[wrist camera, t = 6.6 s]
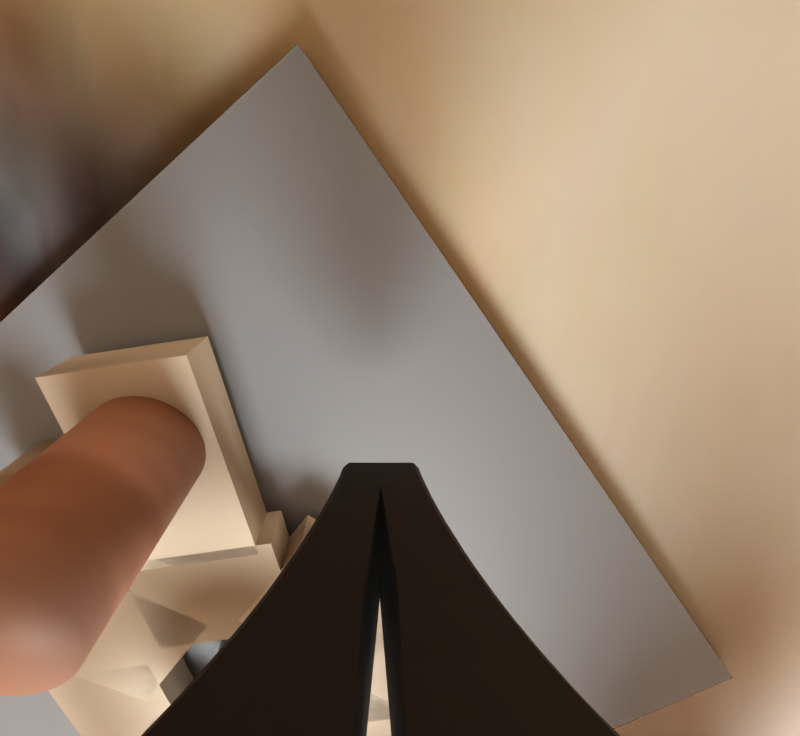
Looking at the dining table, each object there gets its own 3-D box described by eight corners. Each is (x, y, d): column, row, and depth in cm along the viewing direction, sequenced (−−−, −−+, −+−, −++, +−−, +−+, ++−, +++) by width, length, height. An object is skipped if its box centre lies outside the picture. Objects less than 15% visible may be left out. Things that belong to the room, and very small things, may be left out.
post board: (721, 661, 17) (855, 851, 12) (258, 865, 22) (223, 1057, 17) (303, 52, 9) (209, -100, 4) (-280, 593, 14) (-634, 814, 9)
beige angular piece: (456, 737, 17) (489, 986, 11) (156, 775, 17) (56, 1035, 12) (388, 309, 10) (394, 444, 5) (-102, 382, 10) (-587, 585, 5)
